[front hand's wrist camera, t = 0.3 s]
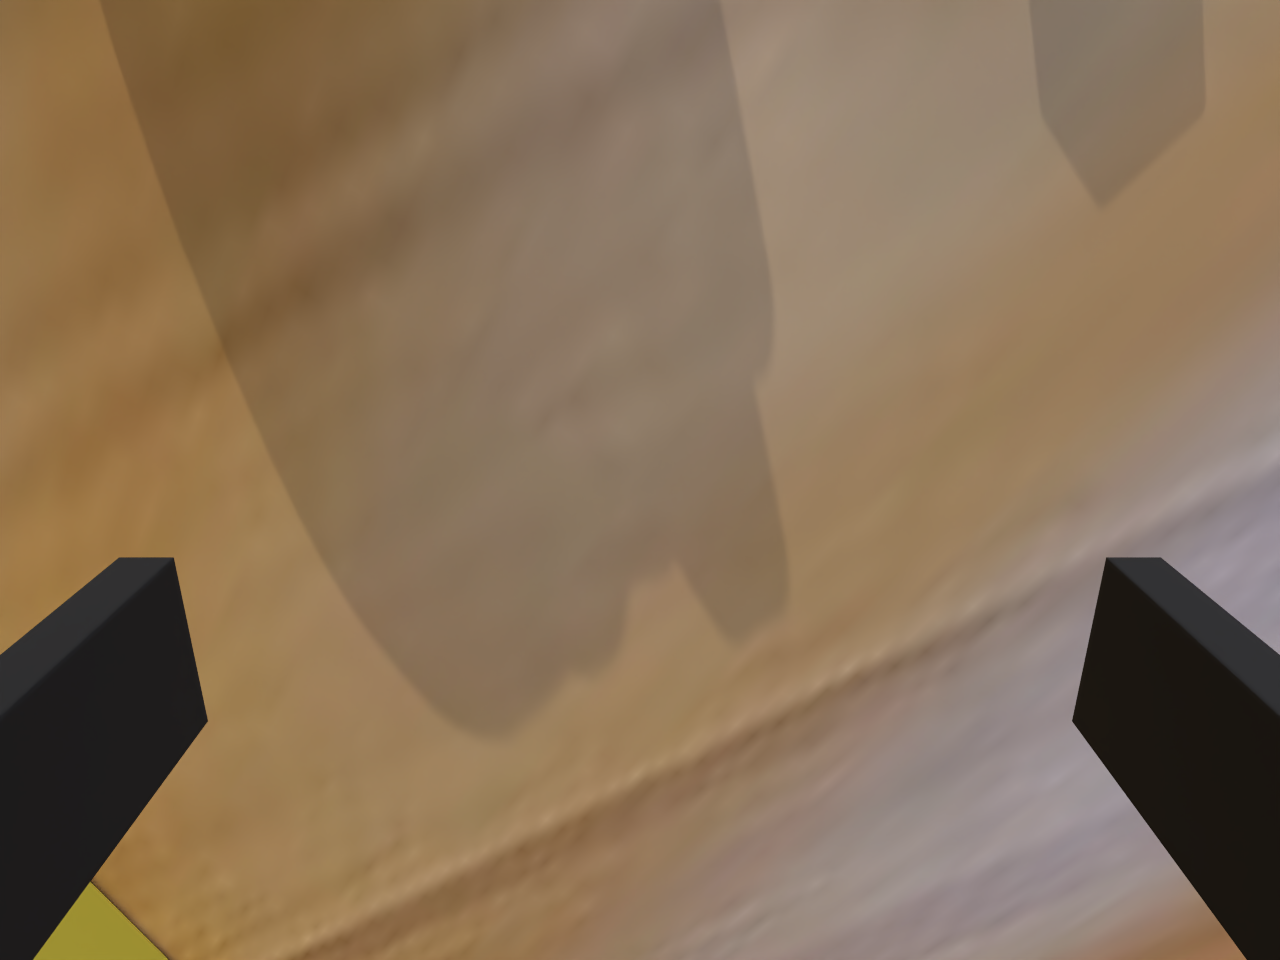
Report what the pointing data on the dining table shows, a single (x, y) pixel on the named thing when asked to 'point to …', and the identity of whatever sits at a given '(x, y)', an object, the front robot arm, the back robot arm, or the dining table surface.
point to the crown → (97, 933)
